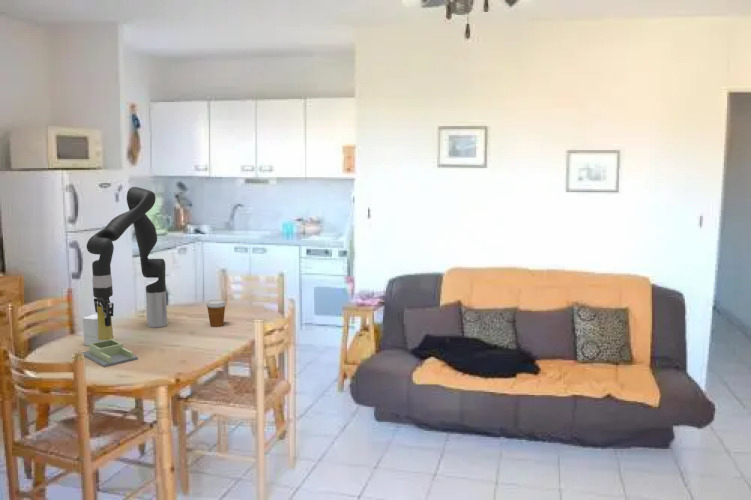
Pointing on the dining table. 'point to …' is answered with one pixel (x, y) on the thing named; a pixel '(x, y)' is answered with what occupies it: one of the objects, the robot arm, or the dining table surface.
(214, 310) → the disposable coffee cup
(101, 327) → the vase
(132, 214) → the robot arm
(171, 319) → the dining table surface
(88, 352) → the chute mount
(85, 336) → the supplement box
